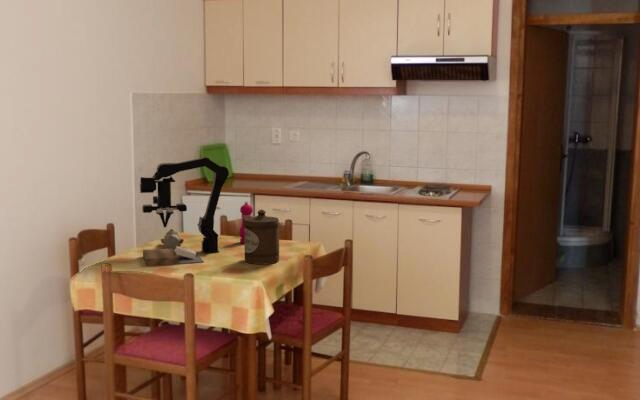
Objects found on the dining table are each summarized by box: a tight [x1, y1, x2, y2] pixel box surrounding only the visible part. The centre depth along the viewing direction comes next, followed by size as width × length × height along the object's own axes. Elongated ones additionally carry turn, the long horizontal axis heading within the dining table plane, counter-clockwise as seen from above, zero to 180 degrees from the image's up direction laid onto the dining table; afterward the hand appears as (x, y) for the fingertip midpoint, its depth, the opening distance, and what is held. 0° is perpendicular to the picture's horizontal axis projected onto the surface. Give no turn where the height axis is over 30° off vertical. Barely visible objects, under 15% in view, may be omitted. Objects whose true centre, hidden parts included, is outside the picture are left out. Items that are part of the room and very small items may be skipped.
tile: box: [174, 245, 197, 259], centre depth 316 cm, size 8×6×2 cm
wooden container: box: [243, 209, 280, 265], centre depth 313 cm, size 15×15×22 cm
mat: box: [178, 253, 205, 265], centre depth 316 cm, size 10×16×1 cm, turn 18°
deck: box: [142, 248, 180, 267], centre depth 313 cm, size 13×18×3 cm
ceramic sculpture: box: [160, 228, 185, 250], centre depth 341 cm, size 11×9×15 cm
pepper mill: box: [238, 201, 254, 245], centre depth 351 cm, size 7×7×20 cm
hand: (164, 227), depth 324 cm, fingers closed
